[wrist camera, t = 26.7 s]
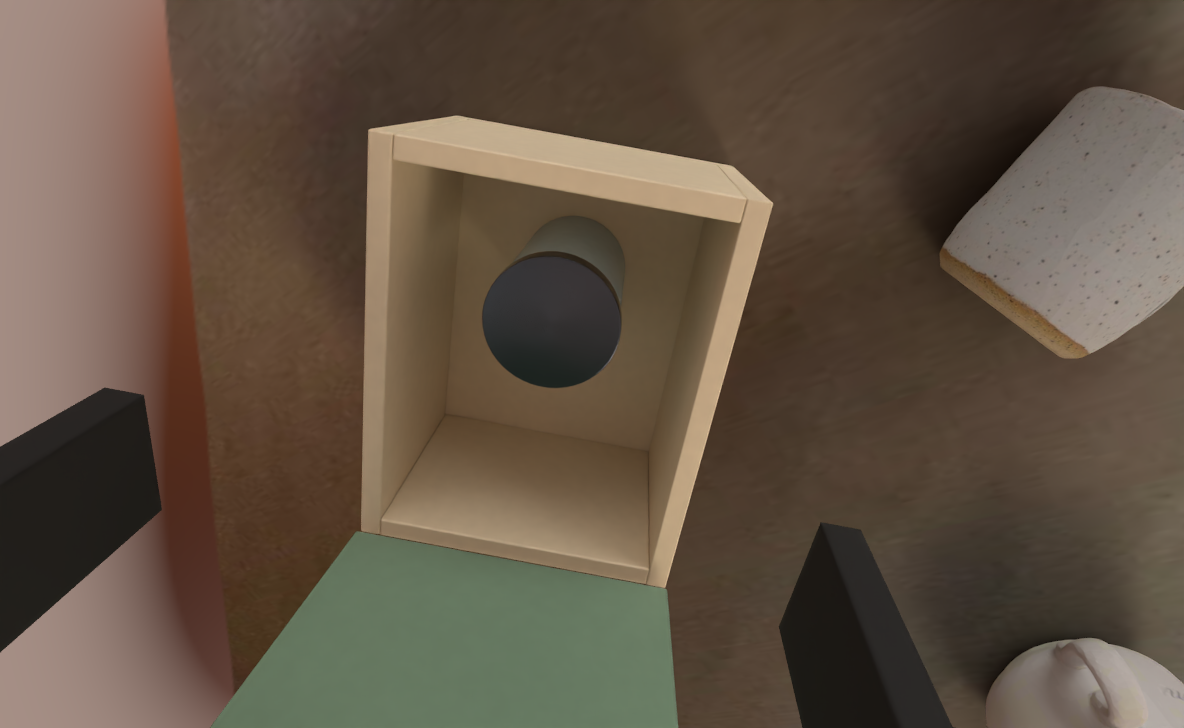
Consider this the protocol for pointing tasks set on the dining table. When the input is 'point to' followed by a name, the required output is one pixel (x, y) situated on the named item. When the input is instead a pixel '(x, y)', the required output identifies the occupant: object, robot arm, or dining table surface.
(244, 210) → the dining table surface
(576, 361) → the coffee tin
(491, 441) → the tan storage tray
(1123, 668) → the teacup
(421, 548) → the lid
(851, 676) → the robot arm
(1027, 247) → the ceramic mug
